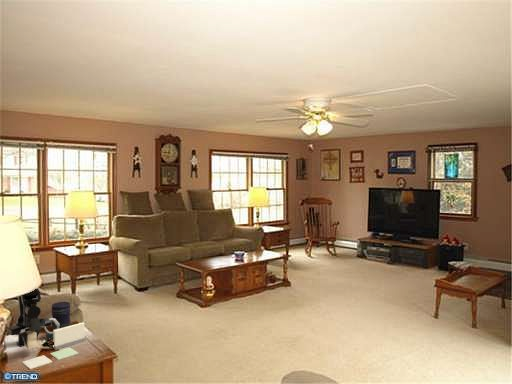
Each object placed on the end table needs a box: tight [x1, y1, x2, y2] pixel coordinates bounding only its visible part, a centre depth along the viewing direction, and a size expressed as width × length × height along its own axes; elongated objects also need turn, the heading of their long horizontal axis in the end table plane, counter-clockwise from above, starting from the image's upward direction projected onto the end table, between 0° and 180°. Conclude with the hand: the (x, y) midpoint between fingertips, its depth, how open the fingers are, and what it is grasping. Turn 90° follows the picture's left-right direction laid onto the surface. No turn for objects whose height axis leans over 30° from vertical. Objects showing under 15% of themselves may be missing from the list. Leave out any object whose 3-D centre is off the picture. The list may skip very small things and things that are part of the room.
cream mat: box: [21, 354, 53, 370], centre depth 202 cm, size 10×10×1 cm
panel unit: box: [53, 321, 87, 351], centre depth 226 cm, size 12×16×10 cm
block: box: [23, 331, 38, 350], centre depth 209 cm, size 5×4×7 cm
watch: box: [43, 317, 60, 340], centre depth 231 cm, size 6×8×11 cm
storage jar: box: [51, 301, 71, 331], centre depth 243 cm, size 10×10×15 cm
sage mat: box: [49, 346, 79, 361], centre depth 211 cm, size 10×10×1 cm
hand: (30, 343), depth 210 cm, fingers closed on block, 4 cm apart
